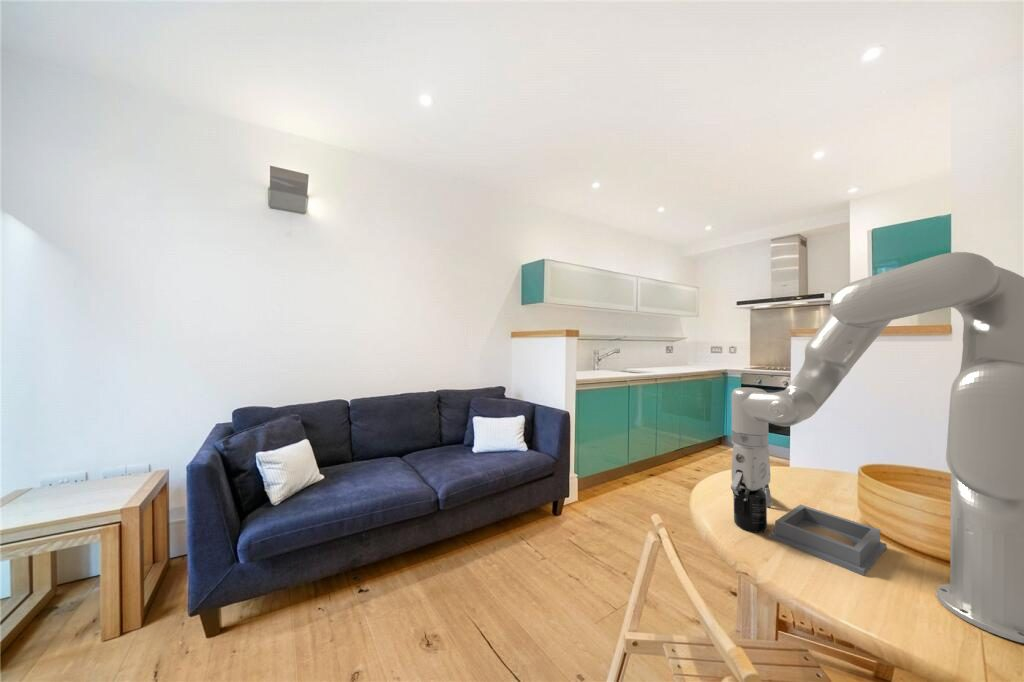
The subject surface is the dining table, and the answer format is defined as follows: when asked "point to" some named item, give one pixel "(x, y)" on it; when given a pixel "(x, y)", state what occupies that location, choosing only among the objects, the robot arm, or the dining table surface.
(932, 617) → the dining table surface
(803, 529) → the housing
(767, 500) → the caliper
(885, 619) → the dining table surface
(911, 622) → the dining table surface
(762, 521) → the supplement bottle
